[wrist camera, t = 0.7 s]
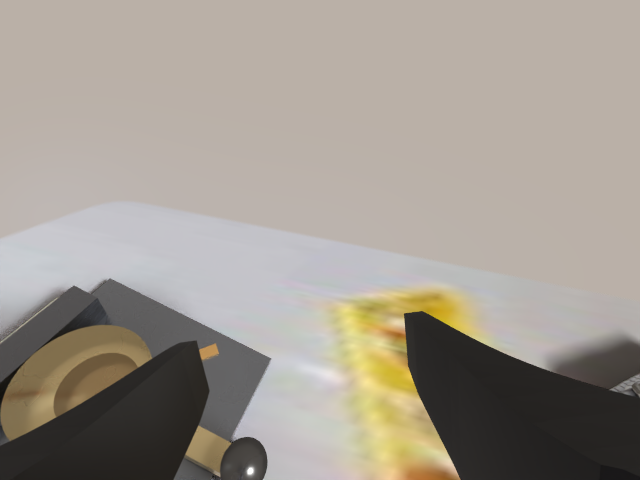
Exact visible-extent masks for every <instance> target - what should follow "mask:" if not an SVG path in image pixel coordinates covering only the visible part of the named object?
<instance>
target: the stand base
mask: <svg viewBox="0 0 640 480" xmlns="http://www.w3.org/2000/svg"><path fill="white" fill-rule="evenodd" d="M95 325H113V326H119V327H123V328H126V329H128V330H131V331H132V332H134V333H136V334H137V335H138V336H139V337H141V338H142V340H143V341H144V342H145V344H146V345H147V347H148V349H149V351H150V354H151V356H152V358H154V357H155V356H157V355H158V354H160V353H162V352H163V351H165V350H167V349H168V348H170V347H172V346H174V345H176V344H178V343H180V342H188V341H196V340H197V344H198V348H199V352H200V355H201V359H202V363H203V367H204V371H205V375H206V378H207V382H208V386H209V390H210V392H209V395H208V399H207V402H206V405H205V409H204V412H203V415H202V418H201V421H200V423H199V425H198V426H200V427H202V428H204V429H206V430H208V431H210V432H212V433H214V434H215V435H217V436H219V437H221V438H223V439H225V440H227V441H229V442H230V441H231V439H232V437H233V435H234V433H235V431H236V429H237V427H238V425H239V423H240V421H241V419H242V417H243V415H244V413H245V411H246V409H247V407H248V405H249V403H250V402H251V400H252V398H253V396H254V394H255V392H256V390H257V388H258V386H259V384H260V382H261V380H262V378H263V376H264V374H265V372H266V370H267V368H268V366H269V364H270V361H271V358H269V357H267V356H265V355H263V354H261V353H259V352H257V351H255V350H253V349H251V348H249V347H247V346H245V345H243V344H241V343H239V342H237V341H235V340H233V339H231V338H229V337H227V336H225V335H223V334H221V333H219V332H217V331H215V330H213V329H211V328H209V327H207V326H205V325H203V324H201V323H199V322H197V321H195V320H193V319H191V318H189V317H186V316H184V315H182V314H180V313H178V312H176V311H174V310H172V309H170V308H168V307H166V306H164V305H162V304H160V303H158V302H156V301H154V300H152V299H150V298H148V297H146V296H144V295H142V294H140V293H138V292H136V291H134V290H132V289H130V288H128V287H126V286H124V285H122V284H120V283H118V282H116V281H114V280H112V279H109V280H108V281H106V282H105V283H104V284H103V285H102V286H100V287H99V288H98V289H97V290H96V291H95V292H93V293H92V294H89V293H87V292H85V291H83V290H81V289H79V288H77V287H75V286H73V287H71V288H70V289H69V290H68V291H66V292H65V293H64V294H63V295H61V296H60V297H57V298H56V299H54V300H53V301H52V302H51V303H49V304H48V305H47V306H45V307H44V308H43V309H42V310H40V311H39V312H38V313H37V314H35V315H34V316H33V317H32V318H30V319H29V320H28V321H26V322H25V323H24V324H23V325H21V326H20V327H19V328H18V329H16V330H15V331H14V332H12V333H11V334H10V335H9V336H7V337H6V338H5V339H4V340H2V341H1V342H0V413H1V404H2V401H3V397H4V394H5V392H6V389H7V387H8V385H9V384H10V382H11V380H12V378H13V377H14V375H15V374H16V373H17V371H18V370H19V369H20V368H21V366H22V365H23V364H24V363H25V362H26V361H27V360H28V359H29V358H30V357H31V356H32V355H33V354H34V353H36V352H37V351H38V350H39V349H41V348H42V347H43V346H45V345H46V344H48V343H49V342H51V341H53V340H54V339H56V338H58V337H60V336H62V335H64V334H66V333H69V332H71V331H74V330H77V329H81V328H84V327H89V326H95ZM9 441H10V440H9V439H8V438H7V436H6V435H5V433H4V431H3V428H2V424H1V415H0V446H1V445H3V444H5V443H7V442H9ZM212 476H213V473H211V472H210V471H208V470H206V469H204V468H202V467H200V466H199V465H197V464H195V463H193V462H191V461H189V460H188V459H186V458H183V460H182V462H181V465H180V467H179V469H178V471H177V473H176V475H175V478H174V480H211V478H212Z"/></svg>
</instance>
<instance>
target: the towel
mask: <svg viewBox="0 0 640 480" xmlns="http://www.w3.org/2000/svg"><path fill="white" fill-rule="evenodd" d="M609 390H612V391H615V392H619V393H623V394H627V395H631V396H635V397H639V398H640V373H638V374H636V375H635V376H632V377H630V378H629V379H627V380H625V381H623V382H621V383H620V384H618V385H616V386H615V387H613V388H611V389H609Z"/></svg>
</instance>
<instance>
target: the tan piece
mask: <svg viewBox="0 0 640 480" xmlns="http://www.w3.org/2000/svg"><path fill="white" fill-rule="evenodd" d="M151 359H152V356H151V354H150V351H149V349H148V347H147V345H146V344H145V342H144V341H143V340H142V338H141V337H139V336H138V335H137V334H136V333H134V332H132V331H131V330H128V329H126V328H123V327H119V326H113V325H95V326H89V327H84V328H81V329H77V330H74V331H71V332H69V333H66V334H64V335H62V336H60V337H58V338H56V339H54V340H53V341H51V342H49V343H48V344H46V345H45V346H43V347H42V348H41V349H39V350H38V351H37V352H36V353H34V354H33V355H32V356H31V357H30V358H29V359H28V360H27V361H26V362H25V363H24V364H23V365H22V366H21V368H20V369H19V370H18V371H17V373H16V374H15V375H14V377H13V378H12V380H11V382H10V384H9V385H8V387H7V389H6V392H5V394H4V397H3V401H2V404H1V413H0V415H1V424H2V428H3V431H4V433H5V435H6V436H7V438H8V439H9V440H10V441H11V440H13V439H15V438H17V437H20V436H22V435H24V434H26V433H28V432H30V431H32V430H34V429H35V428H37V427H39V426H41V425H43V424H45V423H47V422H49V421H50V420H52V419H54V418H56V417H58V416H60V415H62V414H63V413H65V412H67V411H69V410H70V409H72V408H74V407H76V406H77V405H79V404H81V403H83V402H84V401H86V400H87V399H89V398H91V397H92V396H94V395H96V394H97V393H99V392H100V391H102V390H104V389H105V388H107V387H109V386H110V385H112V384H113V383H115V382H117V381H118V380H120V379H121V378H123V377H124V376H126V375H128V374H129V373H131V372H132V371H134V370H135V369H137V368H138V367H140V366H141V365H143V364H144V363H146V362H148V361H149V360H151ZM184 458H186V459H188V460H189V461H191V462H193V463H195V464H197V465H199V466H200V467H202V468H204V469H206V470H208V471H210V472H211V473H213V474H215V475H217V476H219V477H220V479H221V480H263V478H264V476H265V473H266V469H267V454H266V451H265V449H264V447H263V445H262V444H261V443H260V442H259V441H258V440H256V439H254V438H251V437H244V438H240V439H238V440H236V441H234V442H233V443H230V442H229V441H227V440H225V439H223V438H221V437H219V436H217V435H215V434H214V433H212V432H210V431H208V430H206V429H204V428H202V427H200V426H198V428H197V430H196V432H195V434H194V436H193V439H192V441H191V443H190V445H189V447H188V450H187V452H186V454H185V456H184Z"/></svg>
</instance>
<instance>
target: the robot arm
mask: <svg viewBox="0 0 640 480" xmlns="http://www.w3.org/2000/svg"><path fill="white" fill-rule="evenodd" d="M404 318H405V331H406V343H407V356H408V367H409V369H410V372H411V375H412V378H413V381H414V384H415V386H416V389H417V392H418V394H419V396H420V398H421V400H422V402H423V404H424V406H425V408H426V410H427V412H428V414H429V416H430V418H431V420H432V422H433V424H434V426H435V428H436V430H437V432H438V434H439V436H440V438H441V440H442V442H443V444H444V446H445V448H446V450H447V452H448V454H449V456H450V458H451V460H452V462H453V464H454V466H455V468H456V470H457V473H458V475H459V477H460V479H461V480H640V398H639V397H635V396H631V395H627V394H623V393H619V392H615V391H612V390H608V389H605V388H601V387H597V386H594V385H591V384H588V383H584V382H581V381H578V380H575V379H572V378H568V377H565V376H562V375H559V374H556V373H553V372H550V371H547V370H545V369H542V368H539V367H537V366H534V365H532V364H529V363H526V362H524V361H521V360H519V359H516V358H514V357H511V356H509V355H507V354H504V353H502V352H500V351H498V350H496V349H494V348H491V347H489V346H487V345H485V344H483V343H481V342H479V341H477V340H475V339H473V338H471V337H469V336H467V335H465V334H463V333H461V332H460V331H458V330H456V329H454V328H452V327H450V326H449V325H447V324H445V323H443V322H442V321H440V320H438V319H436V318H434V317H433V316H431V315H429V314H427V313H425V312H423V311H420V312H412V313H405V314H404ZM209 392H210V390H209V386H208V382H207V378H206V375H205V371H204V367H203V363H202V359H201V355H200V352H199V348H198V344H197V340H196V341H188V342H180V343H178V344H176V345H174V346H172V347H170V348H168V349H167V350H165V351H163V352H162V353H160V354H158V355H157V356H155V357H154V358H152V359H151V360H149V361H148V362H146V363H144V364H143V365H141V366H140V367H138V368H137V369H135V370H134V371H132V372H131V373H129V374H128V375H126V376H124V377H123V378H121V379H120V380H118V381H117V382H115V383H113V384H112V385H110V386H109V387H107V388H105V389H104V390H102V391H100V392H99V393H97V394H96V395H94V396H92V397H91V398H89V399H87V400H86V401H84V402H83V403H81V404H79V405H77V406H76V407H74V408H72V409H70V410H69V411H67V412H65V413H63V414H62V415H60V416H58V417H56V418H54V419H52V420H50V421H49V422H47V423H45V424H43V425H41V426H39V427H37V428H35V429H34V430H32V431H30V432H28V433H26V434H24V435H22V436H20V437H17V438H15V439H13V440H11V441H9V442H7V443H5V444H3V445H1V446H0V480H174V478H175V475H176V473H177V471H178V469H179V467H180V465H181V462H182V460H183V458H184V456H185V454H186V452H187V450H188V447H189V445H190V443H191V441H192V439H193V436H194V434H195V432H196V430H197V428H198V425H199V423H200V421H201V418H202V415H203V412H204V409H205V405H206V402H207V399H208V395H209Z"/></svg>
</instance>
